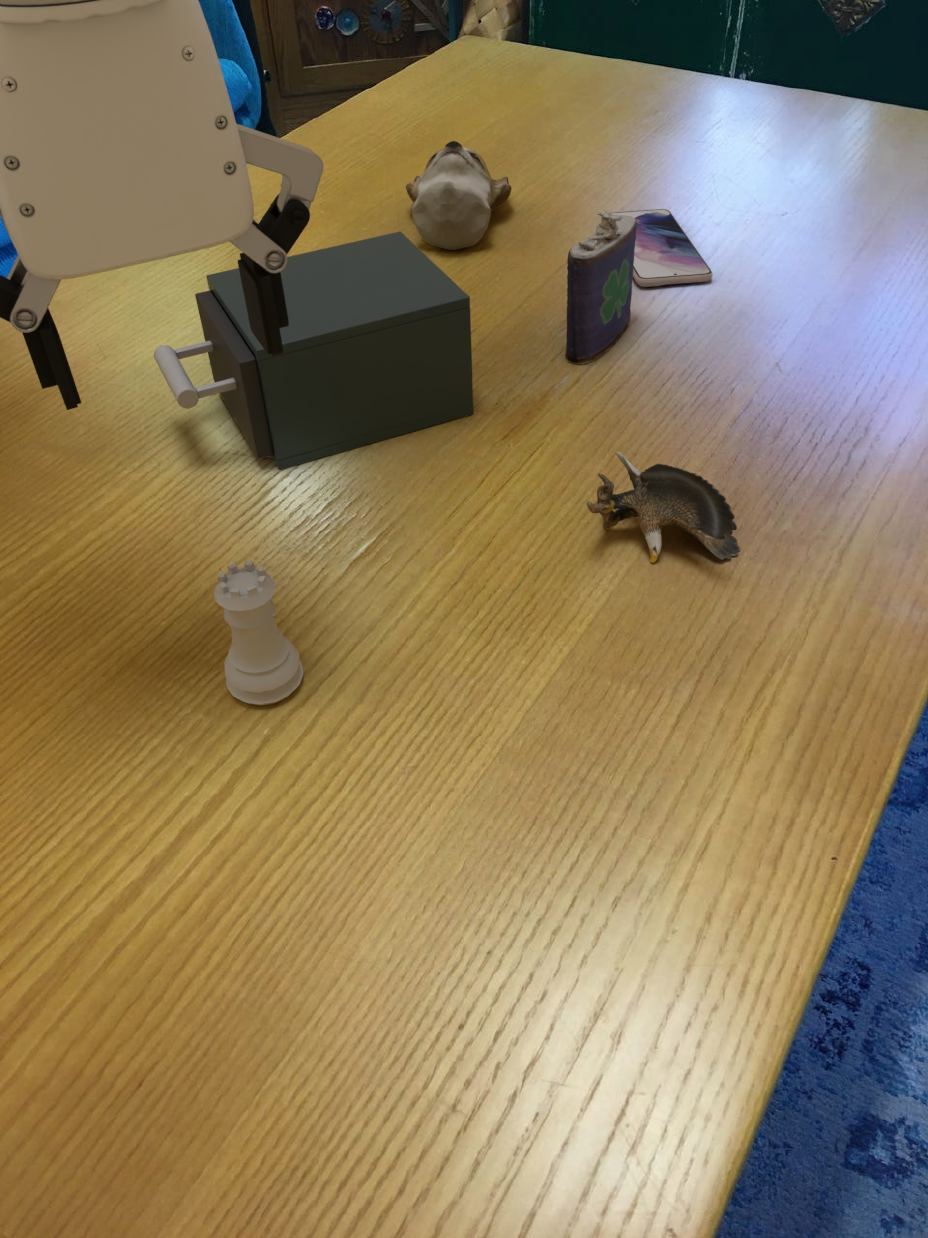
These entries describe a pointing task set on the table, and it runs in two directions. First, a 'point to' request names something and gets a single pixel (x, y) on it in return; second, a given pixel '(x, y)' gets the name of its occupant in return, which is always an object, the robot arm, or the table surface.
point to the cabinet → (359, 347)
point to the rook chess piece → (255, 638)
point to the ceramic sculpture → (455, 197)
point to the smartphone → (664, 251)
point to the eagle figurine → (670, 507)
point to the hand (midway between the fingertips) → (171, 368)
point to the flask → (600, 288)
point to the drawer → (221, 373)
